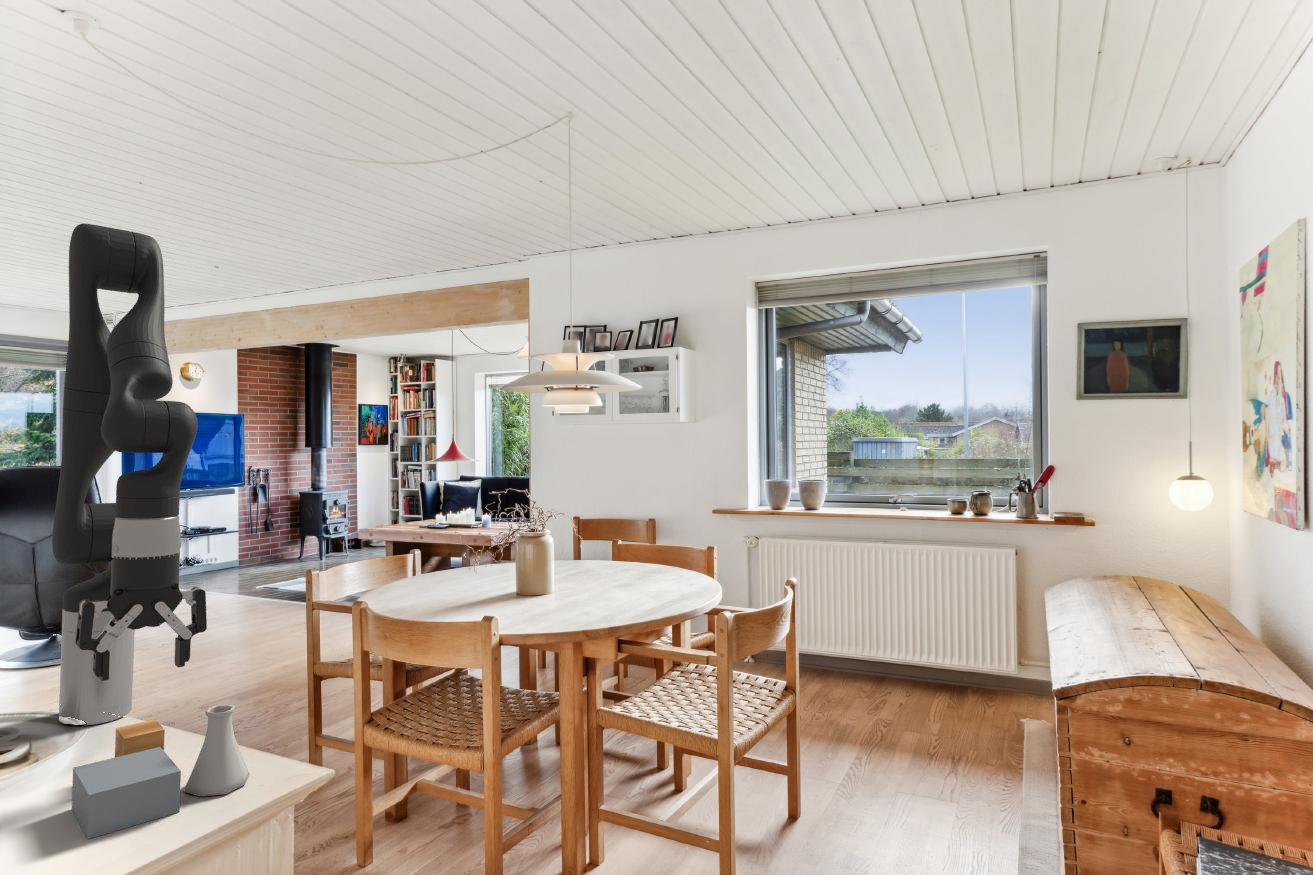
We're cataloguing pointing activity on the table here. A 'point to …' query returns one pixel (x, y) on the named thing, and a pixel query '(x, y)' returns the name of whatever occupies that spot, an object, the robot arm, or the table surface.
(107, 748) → the table surface
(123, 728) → the orange block
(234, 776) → the flask
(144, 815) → the pedestal
